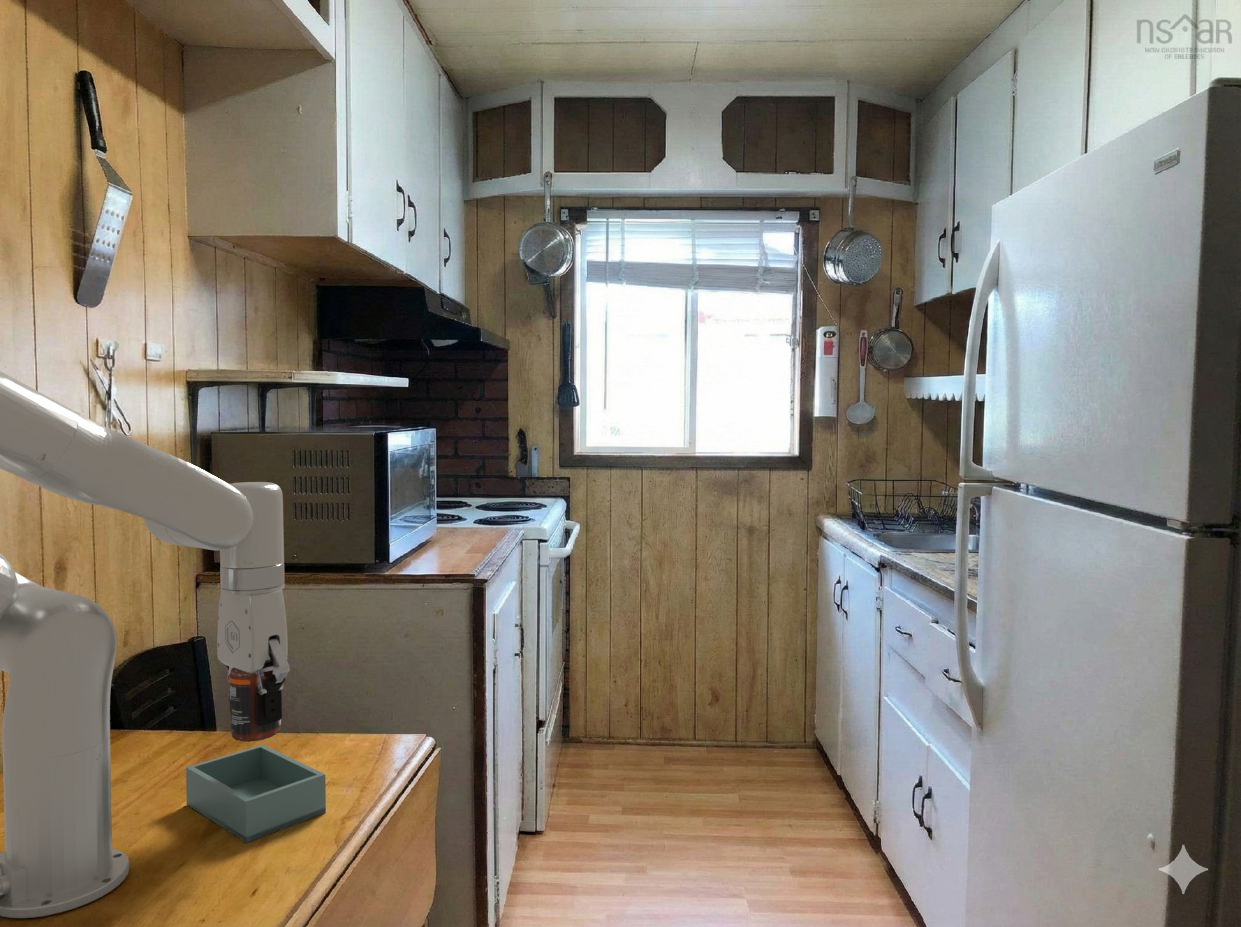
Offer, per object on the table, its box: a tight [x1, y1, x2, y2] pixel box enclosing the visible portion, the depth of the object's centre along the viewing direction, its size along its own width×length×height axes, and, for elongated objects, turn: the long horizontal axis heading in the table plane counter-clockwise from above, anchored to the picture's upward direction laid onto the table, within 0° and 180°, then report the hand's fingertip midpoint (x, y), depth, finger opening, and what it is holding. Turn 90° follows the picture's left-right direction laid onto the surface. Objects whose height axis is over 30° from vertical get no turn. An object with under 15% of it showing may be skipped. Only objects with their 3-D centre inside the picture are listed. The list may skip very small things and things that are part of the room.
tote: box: [185, 744, 327, 844], centre depth 108 cm, size 10×16×5 cm, turn 51°
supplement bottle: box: [229, 662, 282, 743], centre depth 108 cm, size 6×6×11 cm
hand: (255, 715), depth 108 cm, fingers closed on supplement bottle, 6 cm apart
